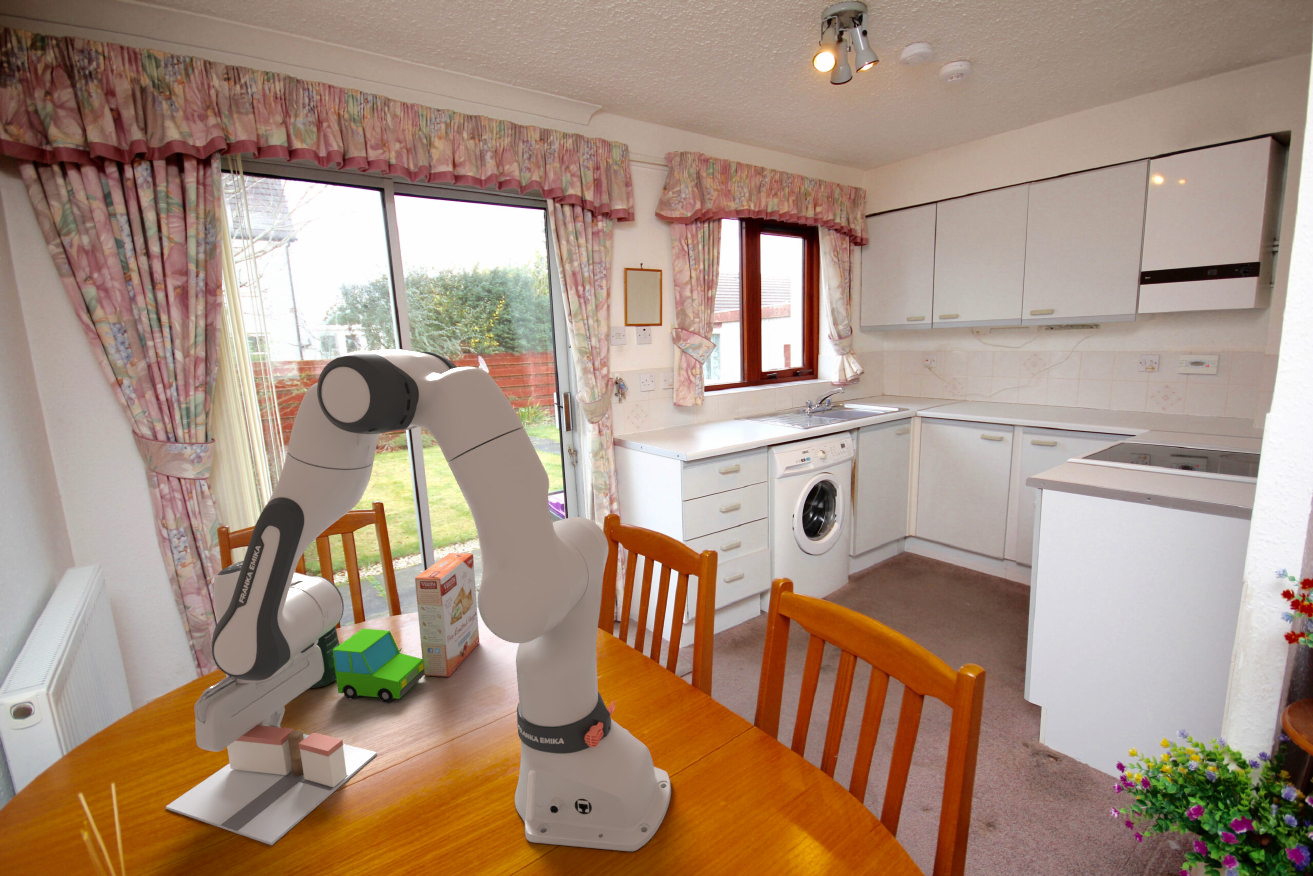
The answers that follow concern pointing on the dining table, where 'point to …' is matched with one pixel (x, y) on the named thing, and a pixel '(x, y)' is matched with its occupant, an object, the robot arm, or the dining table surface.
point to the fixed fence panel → (323, 759)
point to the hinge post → (296, 752)
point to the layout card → (261, 798)
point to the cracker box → (447, 613)
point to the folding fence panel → (262, 751)
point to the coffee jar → (327, 657)
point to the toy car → (375, 666)
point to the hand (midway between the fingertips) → (271, 737)
